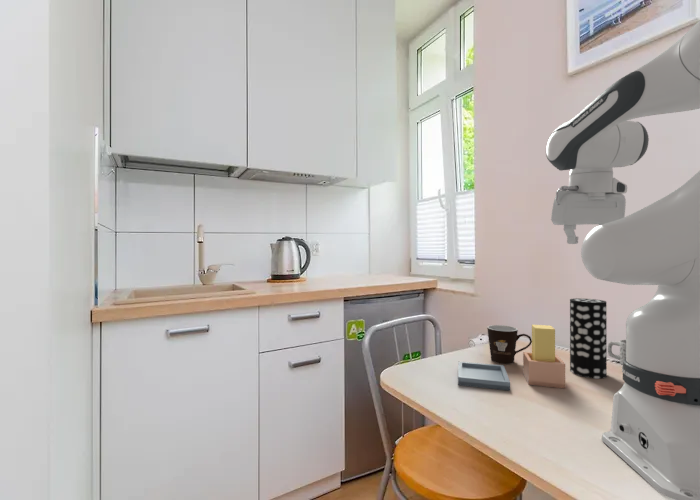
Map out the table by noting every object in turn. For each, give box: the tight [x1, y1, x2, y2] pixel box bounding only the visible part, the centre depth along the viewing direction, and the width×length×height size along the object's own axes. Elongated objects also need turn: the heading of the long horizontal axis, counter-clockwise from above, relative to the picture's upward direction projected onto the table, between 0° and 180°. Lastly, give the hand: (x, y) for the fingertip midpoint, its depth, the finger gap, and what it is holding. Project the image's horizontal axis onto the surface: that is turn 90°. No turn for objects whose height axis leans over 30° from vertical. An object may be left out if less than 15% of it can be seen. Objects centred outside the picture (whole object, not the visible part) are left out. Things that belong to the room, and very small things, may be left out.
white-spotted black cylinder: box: [569, 297, 608, 379], centre depth 96 cm, size 8×8×20 cm
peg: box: [531, 324, 556, 362], centre depth 91 cm, size 4×4×13 cm
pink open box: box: [522, 351, 566, 389], centre depth 91 cm, size 8×8×6 cm
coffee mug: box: [486, 324, 532, 365], centre depth 106 cm, size 12×9×10 cm
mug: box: [607, 339, 626, 366], centre depth 105 cm, size 10×7×7 cm, turn 32°
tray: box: [457, 361, 511, 392], centre depth 93 cm, size 13×12×2 cm
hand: (586, 243), depth 86 cm, fingers open, 8 cm apart
